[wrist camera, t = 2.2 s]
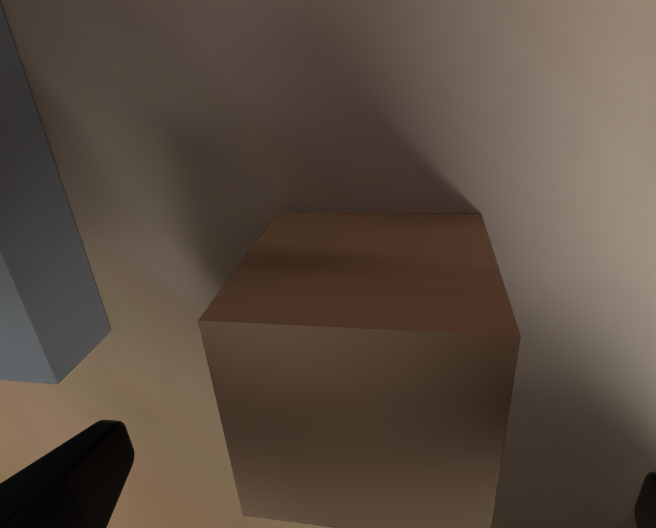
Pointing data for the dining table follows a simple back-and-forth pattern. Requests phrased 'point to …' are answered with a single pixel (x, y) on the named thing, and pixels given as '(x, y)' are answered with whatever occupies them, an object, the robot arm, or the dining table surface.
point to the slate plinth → (38, 246)
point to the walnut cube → (365, 370)
